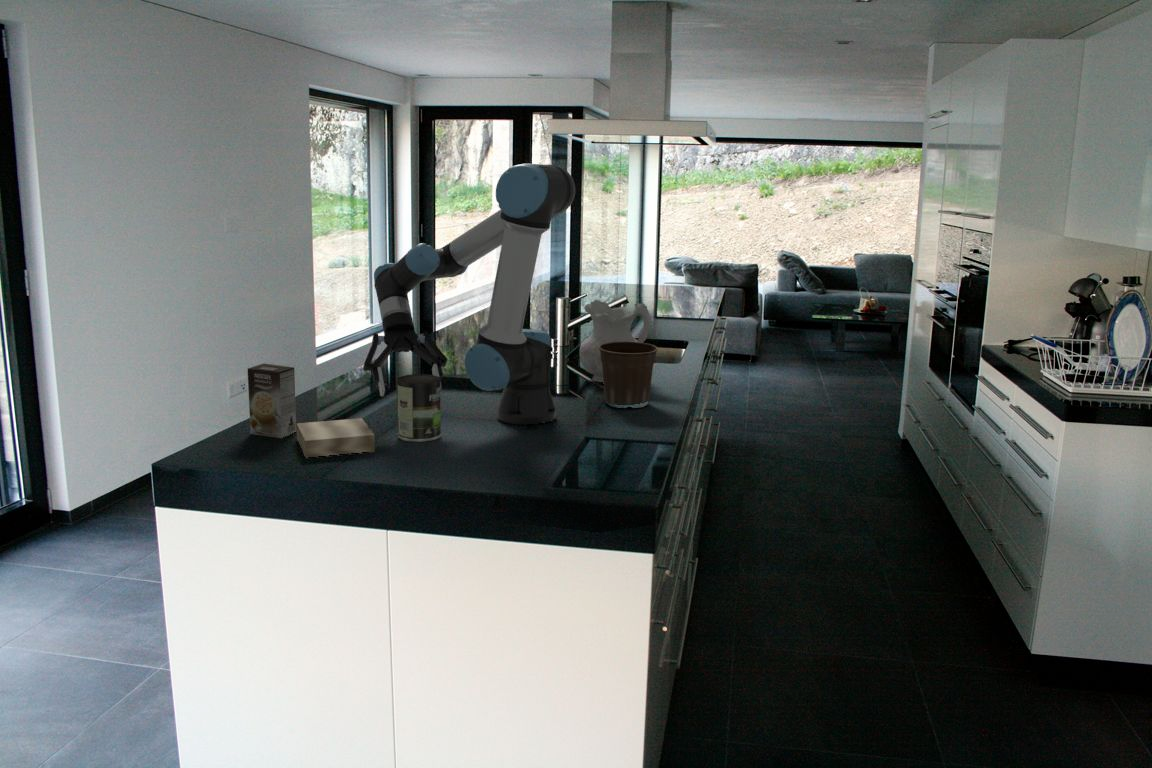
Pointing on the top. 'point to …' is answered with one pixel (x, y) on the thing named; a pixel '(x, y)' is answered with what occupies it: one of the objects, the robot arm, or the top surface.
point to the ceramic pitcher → (609, 332)
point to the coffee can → (419, 407)
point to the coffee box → (272, 400)
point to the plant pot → (627, 371)
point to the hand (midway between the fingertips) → (411, 391)
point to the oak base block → (335, 437)
